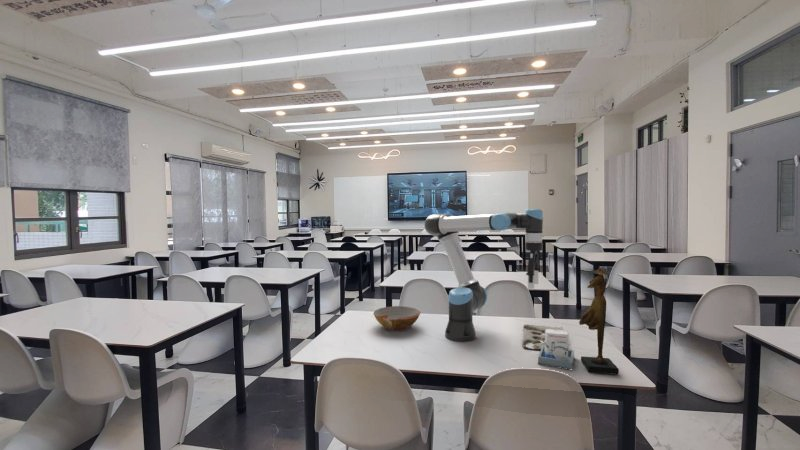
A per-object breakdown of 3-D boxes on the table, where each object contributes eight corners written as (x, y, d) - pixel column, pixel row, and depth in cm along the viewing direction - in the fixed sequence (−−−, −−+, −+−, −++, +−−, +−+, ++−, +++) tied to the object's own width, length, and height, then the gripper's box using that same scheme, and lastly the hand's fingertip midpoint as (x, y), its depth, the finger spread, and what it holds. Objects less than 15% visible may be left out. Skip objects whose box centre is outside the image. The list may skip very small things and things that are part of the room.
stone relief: (522, 350, 167) (570, 354, 160) (521, 343, 167) (570, 348, 160) (523, 328, 198) (563, 331, 191) (523, 323, 197) (563, 325, 191)
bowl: (367, 333, 189) (367, 317, 188) (380, 318, 213) (380, 305, 213) (415, 336, 183) (415, 321, 183) (423, 321, 208) (423, 307, 207)
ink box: (545, 360, 153) (546, 332, 152) (544, 355, 158) (544, 328, 157) (568, 362, 151) (568, 334, 150) (565, 357, 155) (566, 330, 155)
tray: (538, 363, 151) (538, 356, 151) (542, 352, 163) (542, 345, 163) (571, 370, 145) (572, 362, 145) (573, 357, 157) (573, 350, 157)
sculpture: (583, 373, 142) (585, 270, 140) (575, 361, 153) (576, 266, 151) (619, 375, 140) (622, 271, 138) (608, 363, 151) (610, 266, 149)
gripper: (538, 244, 160) (538, 292, 161) (545, 239, 182) (544, 282, 183) (520, 243, 163) (520, 291, 165) (529, 239, 186) (529, 281, 187)
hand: (533, 286), depth 174 cm, fingers open, 13 cm apart
